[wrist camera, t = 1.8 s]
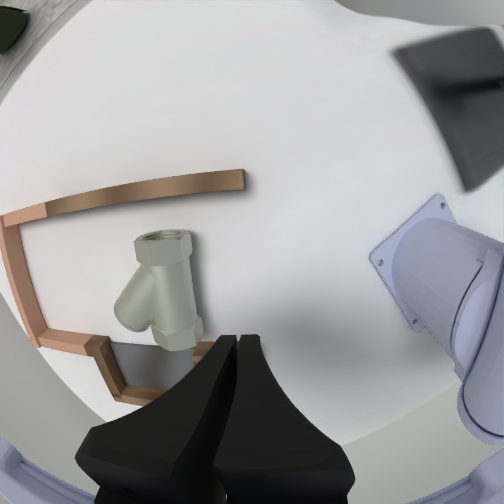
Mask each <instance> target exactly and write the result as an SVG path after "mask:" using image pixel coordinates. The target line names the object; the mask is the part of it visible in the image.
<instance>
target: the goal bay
mask: <svg viewBox="0 0 504 504" xmlns="http://www.w3.org/2000/svg"><path fill="white" fill-rule="evenodd" d="M44 217H47V215H46V208H45V202H44V203H41V204H37V205H34V206H30V207H27V208H23V209H20V210H17V211H14V212H11V213H7V214H4V215H1V216H0V248H1V253H2V257H3V261H4V265H5V269H6V273H7V276H8V280H9V283H10V287H11V290H12V293H13V296H14V299H15V302H16V305H17V308H18V310H19V313H20V316H21V318H22V321H23V323H24V326H25V328H26V331H27V333H28V335H29V338H30V340H31V342H32V344H33V346H34V347H37V348H40V347H41V346H43V347H47V348H51V349H55V350H60V351H65V352H69V353H74V354H79V355H85V356H87V353H86V351H85V349H84V346H83V345H84V344H85V343H86V342H87V341H88V340H89V339H90V338H91V337H92V336H93V335H90V334H82V333H75V332H68V331H61V330H55V329H49V328H47V327H46V324H45V321H44V319H43V316H42V313H41V311H40V308H39V305H38V302H37V299H36V296H35V293H34V290H33V286H32V283H31V280H30V276H29V273H28V269H27V265H26V261H25V257H24V253H23V248H22V243H21V238H20V233H19V228H18V224H19V223H23V222H27V221H31V220H35V219H40V218H44Z"/></svg>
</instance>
